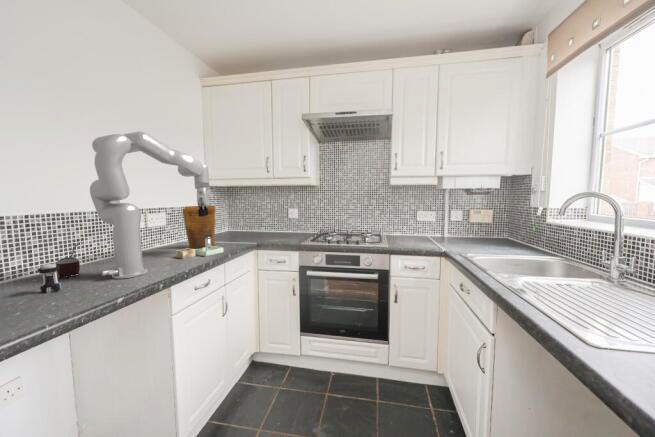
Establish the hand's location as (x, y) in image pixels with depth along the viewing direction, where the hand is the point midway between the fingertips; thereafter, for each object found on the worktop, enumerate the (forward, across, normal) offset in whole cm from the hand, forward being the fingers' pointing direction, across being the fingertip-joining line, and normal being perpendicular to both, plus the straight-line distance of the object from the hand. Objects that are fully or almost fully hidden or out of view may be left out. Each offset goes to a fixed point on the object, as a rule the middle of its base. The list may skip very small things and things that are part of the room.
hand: (203, 215), depth 147 cm
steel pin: (+22, +1, -2) cm, 22 cm away
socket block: (+23, -3, +10) cm, 25 cm away
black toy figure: (+24, -46, +45) cm, 68 cm away
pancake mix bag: (+23, +21, +6) cm, 31 cm away
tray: (+23, +1, -2) cm, 23 cm away
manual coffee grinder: (+24, -26, +50) cm, 61 cm away
